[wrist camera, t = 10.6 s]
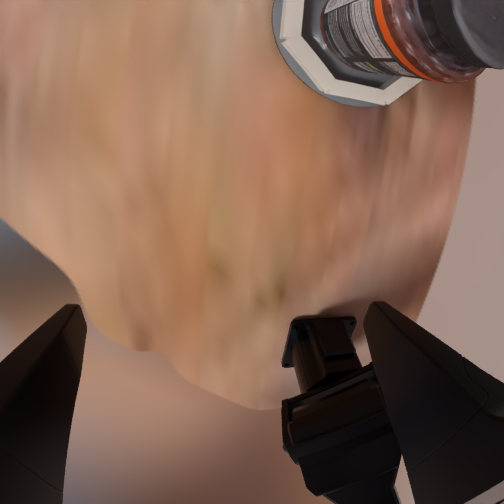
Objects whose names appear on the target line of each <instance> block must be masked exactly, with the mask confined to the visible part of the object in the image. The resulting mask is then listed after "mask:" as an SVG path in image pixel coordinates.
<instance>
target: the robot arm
mask: <svg viewBox="0 0 504 504" xmlns="http://www.w3.org/2000/svg"><path fill="white" fill-rule="evenodd" d="M356 323H357V320H356V318H355V317H338V318H323V319H306V320H294V321H292V322H291V324H290V328H289V332H288V336H287V341H286V345H285V349H284V353H283V357H282V362H281V363H282V367H284V368H289V367H294V368H295V372H296V376H297V379H298V383H299V387H300V391H301V394H300V395H297V396H295V397H292V398H290V399H288V398H287V399H284V400H282V410H281V413H282V436H283V449H284V451H285V452H287V453H289V455H290V457H291V458H292V460H293V461H294V462H295V464H297V465H300V467H301V470H302V473H303V477H304V481H305V484H306V487H307V488H308V490H310V491H311V492H312V493H313V494H314V495H315V496H320V495H323V496H324V497H326V498H327V499H329V500H330V501H332V502H333V503H335V504H401V501H400V498H399V496H398V493H397V490H396V487H395V480H396V476H397V472H398V468H399V464H400V460H401V455H402V456H403V459H404V463H405V466H406V470H407V472H408V473H407V474H408V478H409V481H410V485H411V489H412V493H413V497H414V501H415V504H504V383H503V382H501V381H499V380H498V379H496V378H494V377H493V376H491V375H490V374H488V373H486V372H485V371H483V370H482V369H480V368H479V367H477V366H476V365H475V364H473V363H472V362H470V361H469V360H468V359H466V358H465V357H462V355H461V354H459V353H458V352H456V351H455V350H454V349H452V348H451V347H449V346H448V345H446V344H445V343H444V342H442V341H441V340H439V339H438V338H436V337H435V336H434V335H432V334H431V333H429V332H428V331H427V330H425V329H424V328H422V327H421V326H419V325H418V324H416V323H415V322H414V321H412V320H411V319H409V318H408V317H406V316H405V315H403V314H402V313H400V312H399V311H398V310H396V309H395V308H393V307H392V306H390V305H389V304H387V303H386V302H384V301H374V302H372V303H371V304H370V306H369V309H368V311H367V314H366V316H365V319H364V323H363V325H364V330H365V334H366V338H367V342H368V346H369V350H370V354H371V359H372V362H370V364H368V365H366V366H364V367H362V365H361V362H360V360H359V358H358V356H357V353H356V349H355V347H354V345H353V342H352V340H351V336H352V333H353V331H354V328H355V326H356ZM295 325H297V326H295ZM86 333H87V325H86V321H85V318H84V316H83V313H82V309H81V307H80V305H78V304H66V305H65V306H63V307H62V308H61V309H60V310H59V311H57V312H56V313H55V314H54V315H53V316H52V317H51V318H49V319H48V320H47V321H46V322H45V323H43V324H42V325H41V326H40V327H39V328H38V329H37V330H36V331H34V332H33V333H32V334H31V335H30V336H29V337H27V338H26V339H25V340H24V341H23V342H22V343H21V344H20V345H19V346H18V347H16V349H14V350H13V351H12V352H11V353H10V354H9V355H8V356H7V357H6V358H4V359H3V360H2V361H1V362H0V504H62V502H63V493H62V492H63V486H64V475H65V466H66V458H67V449H68V443H69V436H70V430H71V423H72V417H73V412H74V407H75V401H76V396H77V391H78V387H79V382H80V377H81V370H82V363H83V354H84V347H85V339H86Z"/></svg>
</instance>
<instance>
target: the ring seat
mask: <svg viewBox="0 0 504 504" xmlns="http://www.w3.org/2000/svg"><path fill="white" fill-rule="evenodd" d="M326 1H327V0H274V2H273V8H272V28H273V34H274V38H275V41H276V44H277V47H278V49H279V51H280V53H281V55H282V57H283V59H284V60H285V62H286V64H287V65H288V66H289V68H290V69H291V70H292V72H293V73H294V74H295V75H296V76H297V77H298V78H299V79H300V80H301V81H302V82H303V83H304V84H306V85H307V86H308V87H309V88H311V89H312V90H314V91H315V92H317V93H318V94H320V95H322V96H324V97H326V98H328V99H331V100H333V101H336V102H339V103H343V104H347V105H351V106H359V107H372V106H379V105H384V106H385V104H388V105H389V104H390V103H392V102H393V101H394V100H396V99H398V98H399V97H401V96H402V95H404V94H405V93H406V92H407V91H409V90H410V89H411V88H412V87H413V86H415V85H416V84H417V83H419V82H420V81H421V80H423V79H418V78H410V77H403V76H394V75H386V74H376V73H367V72H363V71H359V70H355V69H353V68H351V67H349V66H347V65H345V64H344V63H342V62H341V61H340V60H339V59H337V58H336V57H335V56H334V55H333V54H332V53H331V52H330V50H329V49H328V47H327V45H326V43H325V42H324V39H323V37H322V34H321V29H320V16H321V12H322V9H323V7H324V5H325V3H326Z"/></svg>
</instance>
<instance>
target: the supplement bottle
mask: <svg viewBox="0 0 504 504" xmlns="http://www.w3.org/2000/svg"><path fill="white" fill-rule="evenodd" d="M320 29H321V34H322V37H323V39H324V42H325V43H326V45H327V47H328V49H329V50H330V52H331V53H332V54H333V55H334V56H335V57H336V58H337V59H339V60H340V61H341V62H342V63H344V64H345V65H347V66H349V67H351V68H353V69H355V70H359V71H363V72H367V73H376V74H386V75H394V76H403V77H410V78H418V79H424V80H429V81H436V82H443V83H463V82H467V81H470V80H472V79H474V78H475V77H477V76H478V75H479V74H481V73H482V72H483V71H484V69H485V68H494V69H504V0H327V1H326V3H325V5H324V7H323V9H322V12H321V16H320Z"/></svg>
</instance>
